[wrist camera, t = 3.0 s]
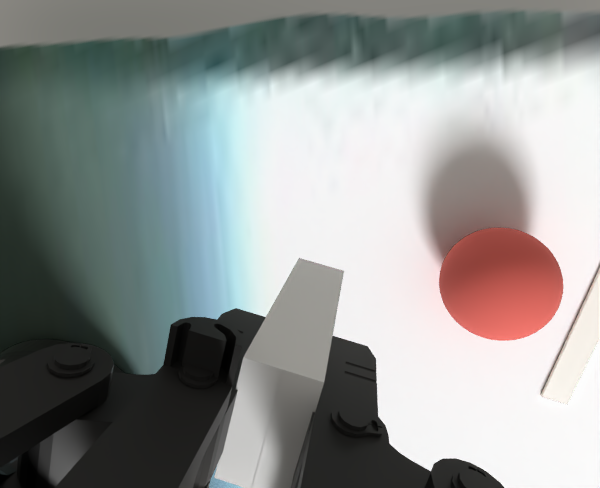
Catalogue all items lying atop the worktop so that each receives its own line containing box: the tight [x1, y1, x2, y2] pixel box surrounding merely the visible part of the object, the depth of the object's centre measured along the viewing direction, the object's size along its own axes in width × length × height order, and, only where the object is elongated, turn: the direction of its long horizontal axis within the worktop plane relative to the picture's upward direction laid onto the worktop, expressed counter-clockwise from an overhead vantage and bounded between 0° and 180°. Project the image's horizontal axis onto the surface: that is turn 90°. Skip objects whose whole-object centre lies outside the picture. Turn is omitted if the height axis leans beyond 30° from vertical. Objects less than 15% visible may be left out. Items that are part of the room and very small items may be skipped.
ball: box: [439, 228, 563, 340], centre depth 23 cm, size 6×6×6 cm
